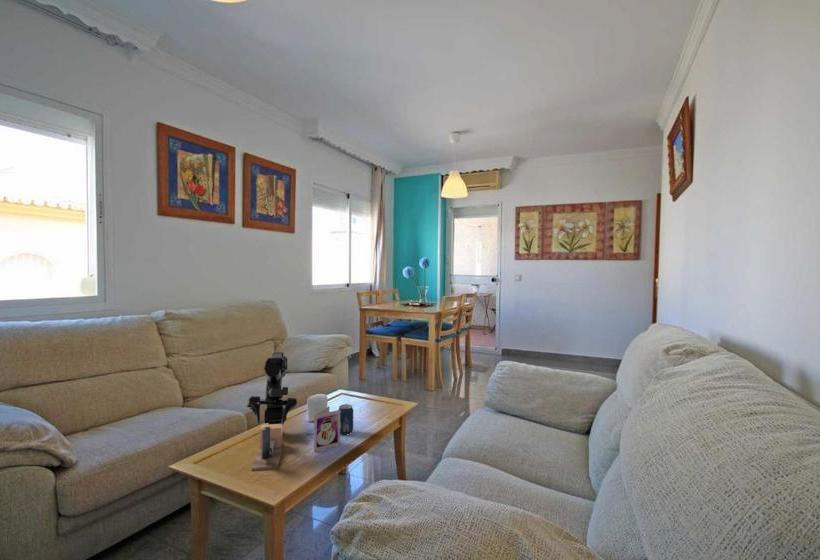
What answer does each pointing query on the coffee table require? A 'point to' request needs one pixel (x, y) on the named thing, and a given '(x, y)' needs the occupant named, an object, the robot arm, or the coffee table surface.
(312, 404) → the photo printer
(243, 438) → the coffee table surface
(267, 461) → the base board
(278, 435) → the socket
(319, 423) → the greeting card
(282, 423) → the robot arm
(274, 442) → the grey rectangular block
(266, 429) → the black handled metal tool
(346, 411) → the soda can
